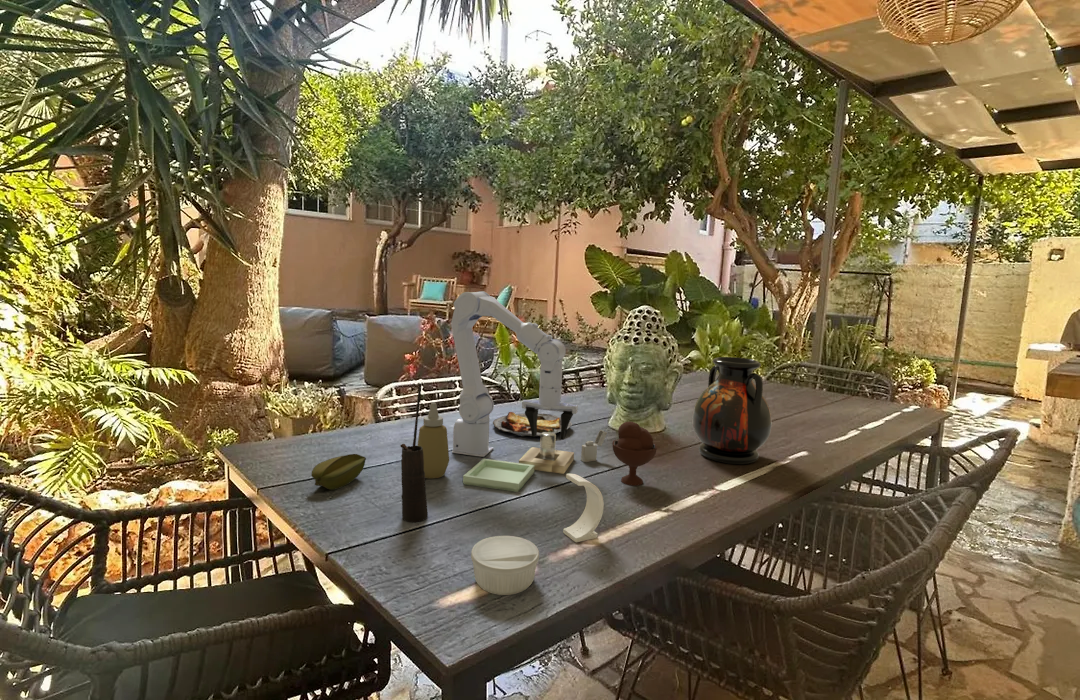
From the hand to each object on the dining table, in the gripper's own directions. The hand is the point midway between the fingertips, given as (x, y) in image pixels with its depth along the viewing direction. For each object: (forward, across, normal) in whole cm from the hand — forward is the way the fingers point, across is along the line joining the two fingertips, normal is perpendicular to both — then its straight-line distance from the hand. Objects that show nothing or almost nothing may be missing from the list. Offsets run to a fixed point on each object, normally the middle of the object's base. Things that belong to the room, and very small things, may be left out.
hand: (548, 437), depth 154 cm
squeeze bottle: (+7, -24, -19) cm, 32 cm away
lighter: (+7, +11, +8) cm, 15 cm away
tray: (+7, -8, -15) cm, 18 cm away
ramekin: (+8, +8, -59) cm, 60 cm away
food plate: (+8, -13, +31) cm, 35 cm away
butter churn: (+7, -18, -42) cm, 46 cm away
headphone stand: (+7, +17, -38) cm, 42 cm away
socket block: (+7, 0, 0) cm, 7 cm away
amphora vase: (+8, +47, +26) cm, 54 cm away
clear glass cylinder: (+7, 0, 0) cm, 7 cm away
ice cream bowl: (+8, +23, -5) cm, 25 cm away
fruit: (+7, -41, -32) cm, 53 cm away
